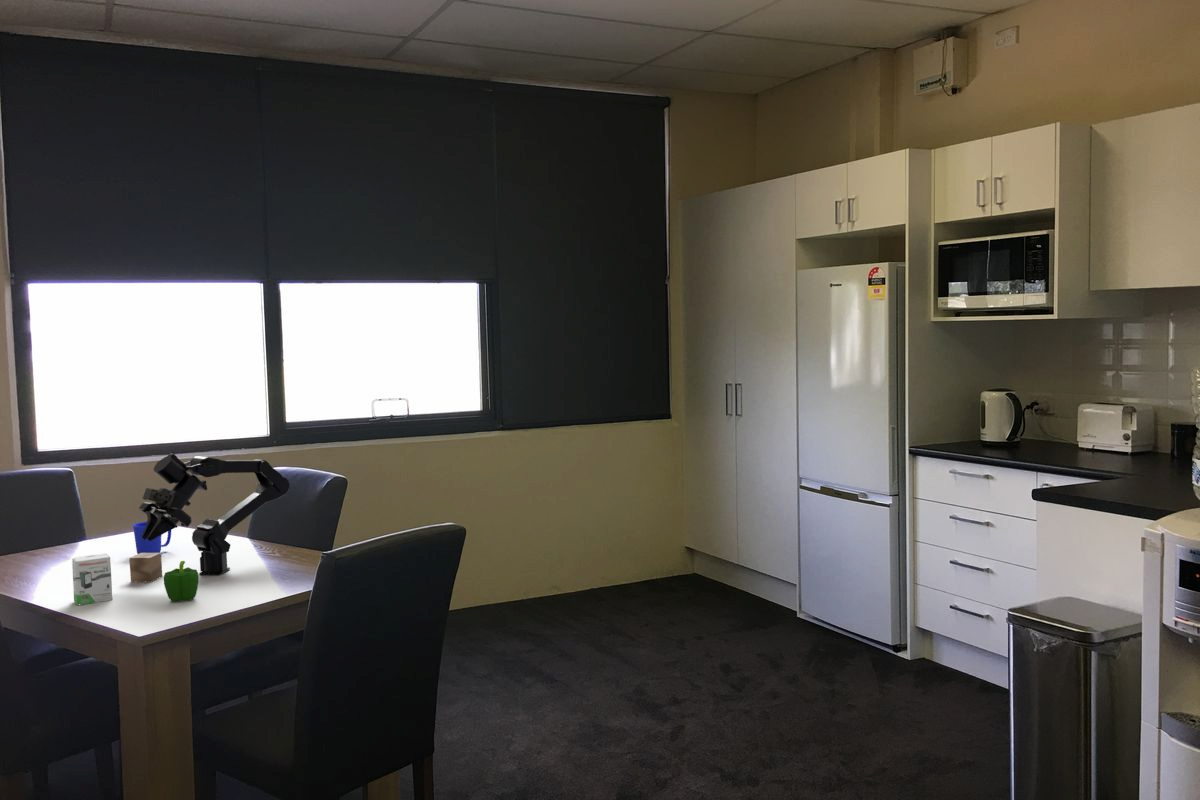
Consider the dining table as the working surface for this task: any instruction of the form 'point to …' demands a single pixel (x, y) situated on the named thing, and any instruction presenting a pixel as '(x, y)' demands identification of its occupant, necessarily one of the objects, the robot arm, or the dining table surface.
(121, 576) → the dining table surface
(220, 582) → the dining table surface
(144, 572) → the walnut block
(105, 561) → the ink box
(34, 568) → the dining table surface
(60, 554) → the dining table surface
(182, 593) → the bell pepper
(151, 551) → the mug
